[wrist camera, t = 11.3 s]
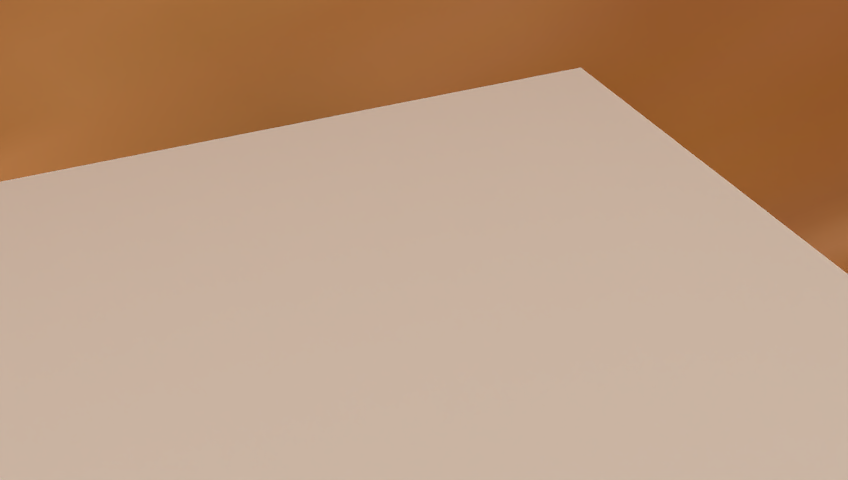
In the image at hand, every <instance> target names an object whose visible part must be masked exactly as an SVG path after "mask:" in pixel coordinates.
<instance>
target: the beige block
mask: <svg viewBox="0 0 848 480" xmlns="http://www.w3.org/2000/svg"><path fill="white" fill-rule="evenodd" d="M0 480H848V274H847V273H846V272H844V271H843V270H842V269H840V268H839V267H838V266H837V265H835V264H834V263H833V262H831V261H830V260H829V259H827V258H826V257H825V256H824V255H822V254H821V253H820V252H818V251H817V250H816V249H815V248H813V247H812V246H811V245H809V244H808V243H807V242H805V241H804V240H803V239H802V238H800V237H799V236H798V235H796V234H795V233H794V232H793V231H791V230H790V229H789V228H787V227H786V226H785V225H783V224H782V223H781V222H780V221H778V220H777V219H776V218H774V217H773V216H772V215H771V214H769V213H768V212H767V211H765V210H764V209H763V208H762V207H760V206H759V205H758V204H756V203H755V202H754V201H752V200H751V199H750V198H749V197H747V196H746V195H745V194H743V193H742V192H741V191H740V190H738V189H737V188H736V187H734V186H733V185H732V184H730V183H729V182H728V181H727V180H725V179H724V178H723V177H721V176H720V175H719V174H718V173H716V172H715V171H714V170H712V169H711V168H710V167H709V166H707V165H706V164H705V163H703V162H702V161H701V160H699V159H698V158H697V157H696V156H694V155H693V154H692V153H690V152H689V151H688V150H687V149H685V148H684V147H683V146H681V145H680V144H679V143H677V142H676V141H675V140H674V139H672V138H671V137H670V136H668V135H667V134H666V133H665V132H663V131H662V130H661V129H659V128H658V127H657V126H655V125H654V124H653V123H652V122H650V121H649V120H648V119H646V118H645V117H644V116H643V115H641V114H640V113H639V112H637V111H636V110H635V109H634V108H632V107H631V106H630V105H628V104H627V103H626V102H624V101H623V100H622V99H621V98H619V97H618V96H617V95H615V94H614V93H613V92H612V91H610V90H609V89H608V88H606V87H605V86H604V85H602V84H601V83H600V82H599V81H597V80H596V79H595V78H593V77H592V76H591V75H590V74H588V73H587V72H586V71H584V70H583V69H582V68H576V69H571V70H566V71H561V72H556V73H551V74H546V75H540V76H535V77H530V78H525V79H520V80H515V81H510V82H505V83H500V84H495V85H490V86H485V87H480V88H474V89H469V90H464V91H459V92H454V93H449V94H444V95H439V96H434V97H429V98H424V99H419V100H414V101H408V102H403V103H398V104H393V105H388V106H383V107H378V108H373V109H368V110H363V111H358V112H353V113H347V114H342V115H337V116H332V117H327V118H322V119H317V120H312V121H307V122H302V123H297V124H292V125H287V126H281V127H276V128H271V129H266V130H261V131H256V132H251V133H246V134H241V135H236V136H231V137H226V138H221V139H215V140H210V141H205V142H200V143H195V144H190V145H185V146H180V147H175V148H170V149H165V150H160V151H155V152H149V153H144V154H139V155H134V156H129V157H124V158H119V159H114V160H109V161H104V162H99V163H94V164H88V165H83V166H78V167H73V168H68V169H63V170H58V171H53V172H48V173H43V174H38V175H33V176H28V177H22V178H17V179H12V180H7V181H2V182H0Z"/></svg>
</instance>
